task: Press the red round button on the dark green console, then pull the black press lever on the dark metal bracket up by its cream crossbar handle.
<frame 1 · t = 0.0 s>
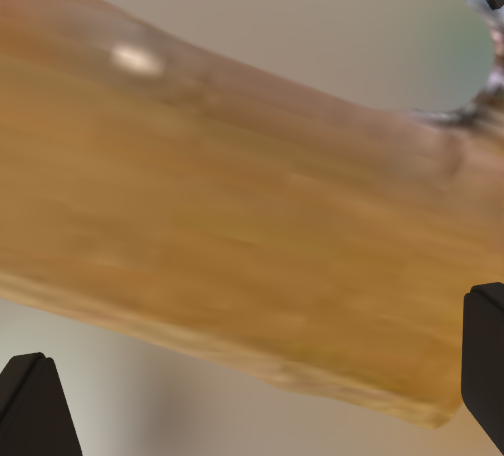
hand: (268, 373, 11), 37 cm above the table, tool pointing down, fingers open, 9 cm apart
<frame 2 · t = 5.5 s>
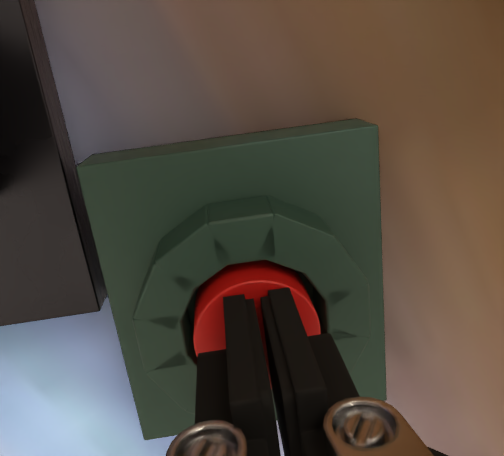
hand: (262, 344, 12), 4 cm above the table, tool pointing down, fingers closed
console: (245, 272, 15), on the table
button: (254, 321, 12), point 3 cm above the table, slide at -0.8 cm, touching gripper
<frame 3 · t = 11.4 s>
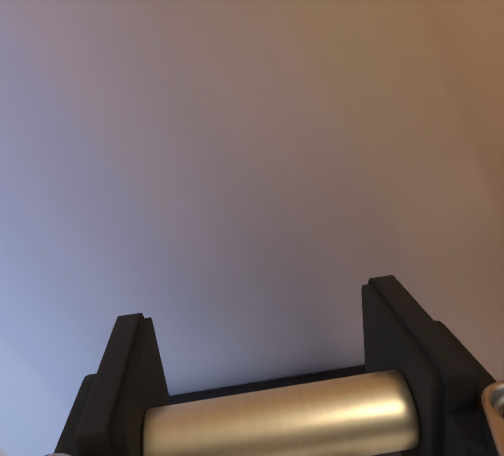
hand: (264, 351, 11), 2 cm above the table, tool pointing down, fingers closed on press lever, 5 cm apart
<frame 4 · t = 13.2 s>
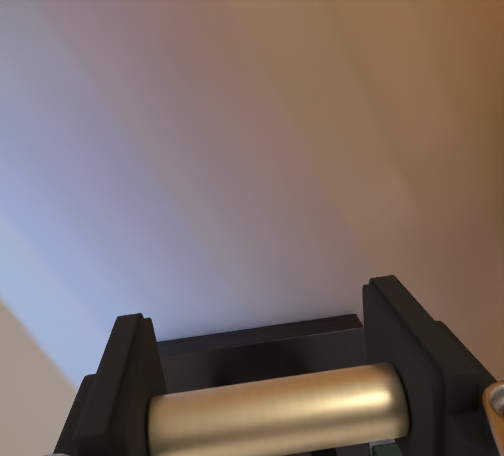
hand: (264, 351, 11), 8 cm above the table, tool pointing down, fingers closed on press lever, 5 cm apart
lever bracket: (269, 437, 22), on the table
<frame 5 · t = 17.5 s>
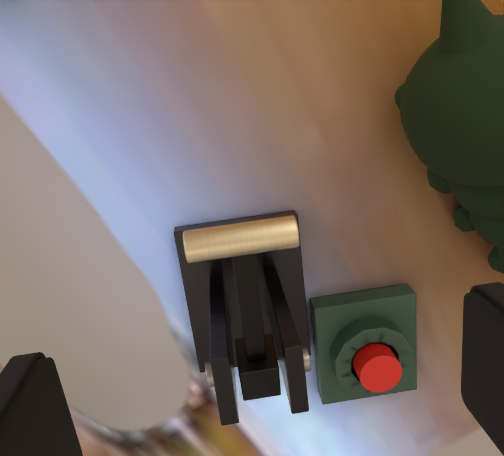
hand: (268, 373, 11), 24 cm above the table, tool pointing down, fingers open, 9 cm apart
console: (361, 338, 39), on the table
green bumpy upright shape: (465, 155, 35), on the table
button: (377, 367, 35), point 4 cm above the table, slide at 0.1 cm
lever bracket: (245, 290, 37), on the table
press lever: (251, 315, 24), point 12 cm above the table, hinge at 21.0°
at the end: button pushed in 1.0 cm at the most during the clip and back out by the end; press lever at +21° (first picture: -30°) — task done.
